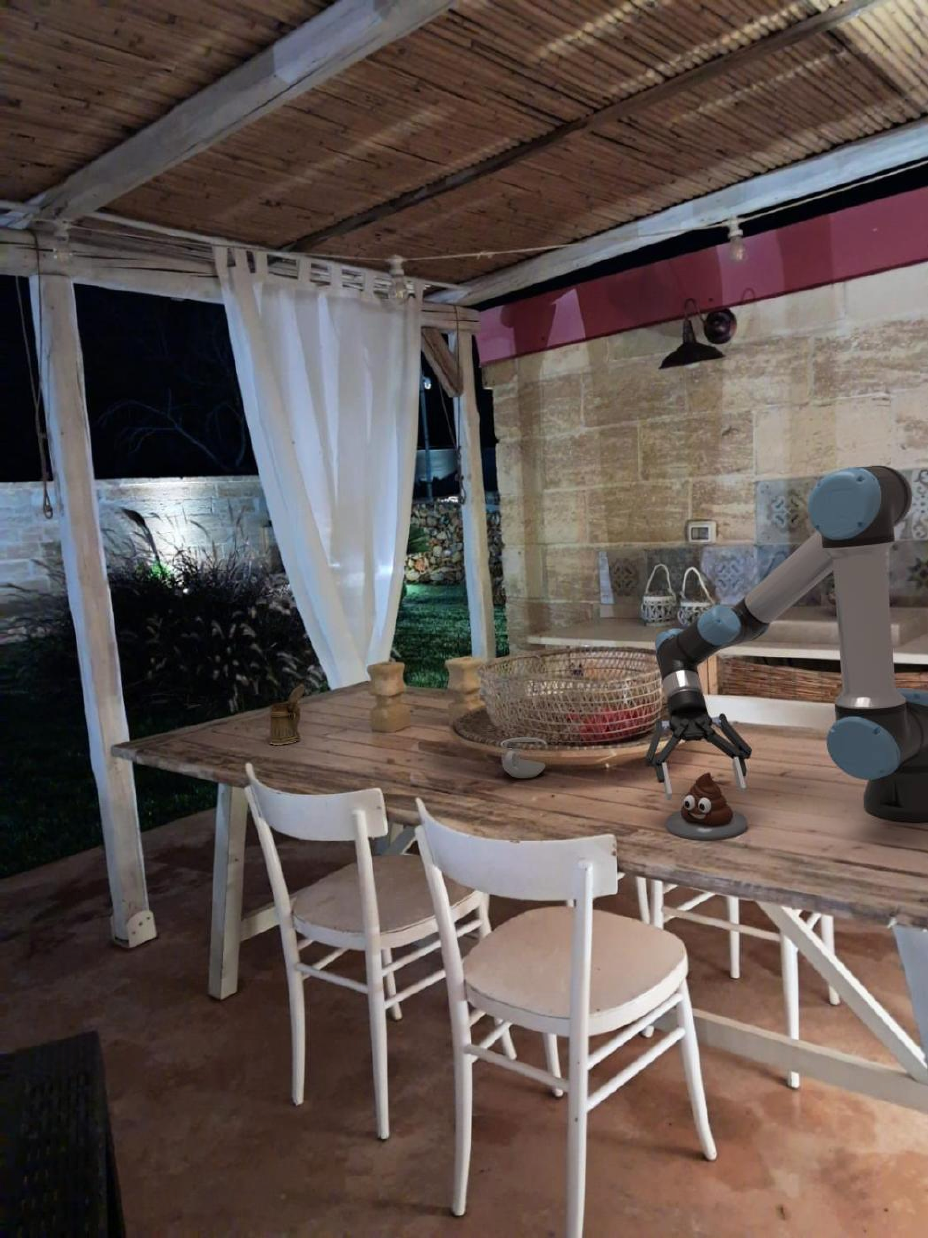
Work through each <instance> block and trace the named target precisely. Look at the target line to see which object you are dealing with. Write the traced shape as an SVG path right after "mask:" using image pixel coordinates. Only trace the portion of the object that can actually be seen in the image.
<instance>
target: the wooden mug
mask: <svg viewBox="0 0 928 1238" xmlns="http://www.w3.org/2000/svg"><path fill="white" fill-rule="evenodd" d="M305 689H306V686H305V685H304V683H303V682H300V683H299V684H298V685H297V686H296V687H295V688H294V689H292V691H291V692H290V693H289V696H288V701H289V702H282V703H281V702H280V703H275V704H272V705H270V711H269V716H270V721H269V722H270V723H269V724H270V725H269V727H270V728H269V729H270V730H269V735H270V736H269V741H268V742H272V743H286V742H294V741H298V740H299V739H300V738H301V734H300V732H299V730H298V725H299V722H300V720H301V719H300V718H301V708H300V705H299V704H298V701H299V700H300V699H301V697H302V696H303V694H304V693H305ZM300 740H301V739H300ZM298 742H299V741H298Z"/></svg>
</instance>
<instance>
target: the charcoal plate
mask: <svg viewBox="0 0 928 1238" xmlns="http://www.w3.org/2000/svg"><path fill="white" fill-rule="evenodd" d="M732 811H733V818H732V820H731V821H730V822H729V823H727V824H724V825H719V826H709V825H704V824H702V823H699V822H688V821H686V820H684V819H683V817H682V816H681V810H678V811H675V812H673V813H671V814H669V815H668V816H667V817H666V818H665V829H666V830H667V832H669V833H670V834H671V833H672V834H671V835H673V834H674V835H673V836H675V835H677V836H676V837H678V836H679V838H681V839H687V840H692V841H704V840H706V841H707V840H708V841H709V840H710V841H722V840H727V838H728V839H732V838H734V837H737V835H738V836H740V835H742V834H744V833H745V832H746V830H747V829H748V820H747V818H746V817H745V816H744V815H743V814H742V813H739V812H737V811H734V810H732ZM731 837H732V838H731ZM721 839H722V840H721ZM708 841H707V842H708Z"/></svg>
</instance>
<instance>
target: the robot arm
mask: <svg viewBox="0 0 928 1238" xmlns="http://www.w3.org/2000/svg"><path fill="white" fill-rule="evenodd" d="M912 502H913V491H912V487H911V485H910V482H909V480H907V478H906V476H904V474H902V473H901V472H900V471H898V470H897V469H895V468H893V467H890V466H886V465H869V466H854V467H849V466H848V467H846V468H842V469H841V468H840V469H839V470H835V471H832V472H830V473H828V474H827V475H825V476H823V477H822V478H821V479H820V480H819V481H818V482H817V483H816V485H814V487H813V488H812V491H810V495H809V499H808V504H807V514H808V518H809V521H810V523H811V525H812V526H813V528H814V529H815V530H816V532H815V533H813V535H811V536H810V537H809V538H808V539H807V540H806V541H805V542H803V544H802V545H800V546H799V547H798V548H797V549H796V550H795V551H794V552H792V553H791V555H789V556H788V557H787V558H786V559H785V560H784V561H783V562H782V563H781V564H779V565H778V566H777V567H776V568H775V569H773V571H771V573H769V574H768V575H767V576H766V577H765V578H764V579H763V580H762V581H761V582H759V583H758V584H757V585H755V587H754V588H752V590H751V591H749V592H748V593H747V594H745V596H744V597H743V598H742V599H741V600H740V601H739V602H738V603H736V604H735V605H734V606H733V607H728V606H724V605H722V604H717V605H713V606H712V607H711V608H709V609H708V610H705V611H704V612H702V613H701V615H700V616H699V617H698V618H696V619H695V620H694V621H692V623H690V624H689V625H688V626H687V627H686V628H684V629H682V628H669V629H668V630H667V631H662V632H661V633H659V634H658V635H657V637H656V638H655V641H654V648H655V658H656V661H657V664H658V668H659V669H658V670H659V672H660V673H659V674H660V677H661V678H660V679H661V684H662V688H663V693H664V697H665V701H666V708H667V712H668V713H667V714H668V718H669V720H668V721H667V720H662V719H661V718H659V717H658V718H656V719H655V724H654V733H653V736H652V739H651V741H650V743H649V746H648V749H647V752H646V754H645V758H644V759H645V760H644V766H645V767H647V768H649V767H652V768H653V770H654V771H655V773H656V774H655V775H656V779H657V782H658V783H659V784H662V783H663V787H664V793H665V797H666V801H672V796H673V791H672V786H671V781H670V776H669V775H670V774H669V771H668V767H667V762H666V761H667V759H668V758H669V756H670V755H671V754H672V753H673V751H674V749H675V748H676V747H677V746H678V745H679V744H680V742H681V741H684V742H685V743H686V742H687V743H688V742H692V741H696V742H701V741H702V740H704V741H706V742H707V743H711V744H712V745H713V746H714V747H716V748H717V749H719V750H720V751H721V752H723V754H725V755H726V756H728V757H729V758H730V759H732V763H731V765H732V769H733V773H734V777H735V780H736V786H737V789H738V793H739V796H740V795H745V792H746V788H747V787H746V783H745V779H744V777H746V775H747V772H748V769H747V766H746V761H745V760H749V759H750V758H751V756H752V753H753V749H752V748H751V746H750V745H749V744H748V743H747V742H746V741H745V740H744V739H743V737H742V736H741V735H740V734H739V733H738V732H737V730H736V729H735V728H734V727H733V726H732V725H731V724H730V723H729V721H728V718H727V716H726V714H725V713H720V714H719V716H714V717H712V716H711V715H709V712H708V707H707V703H706V699H705V695H704V692H703V688H702V686H703V685H702V684H701V682H702V681H701V679H700V675H699V674H700V673H699V670H698V666H699V665H701V664H702V663H704V662H705V661H707V660H708V659H709V658H710V657H712V656H713V655H714V654H716V653H717V652H719V651H722V650H723V649H727V648H730V647H733V646H736V645H739V644H743V643H746V642H751V641H754V640H757V639H758V638H760V637H762V636H764V635H765V634H766V633H767V632H768V630H769V628H770V626H771V625H770V624H772V623H773V622H774V621H775V620H777V618H779V617H780V616H781V615H782V614H784V612H786V611H787V610H788V609H789V608H790V607H792V606H793V605H794V604H795V603H797V601H799V600H800V599H801V598H802V597H803V596H804V595H806V594H807V593H808V592H809V591H810V590H812V589H813V588H814V587H815V586H816V585H817V584H819V583H820V582H821V581H822V580H823V579H824V578H826V577H827V576H829V574H831V573H832V572H833V580H834V581H833V582H834V594H835V607H836V619H837V620H836V621H837V623H836V624H837V635H838V648H839V661H840V673H841V676H840V677H841V685H842V686H841V687H842V691H841V693H840V694H839V695H838V696H837V697H836V698H835V699H834V715H835V722H834V723H833V724H832V725H831V727H830V728H829V730H828V732H827V735H826V748H827V752H828V754H829V757H830V758H831V760H832V761H833V763H834V764H835V766H837V767H838V768H839V769H840V770H842V772H844V773H845V774H846V775H849V776H851V777H853V778H855V779H858V780H864V781H867V784H866V787H865V789H864V792H863V808H864V810H865V811H866V812H868V813H869V814H871V815H872V816H875V817H878V818H882V819H885V820H890V821H897V822H909V823H921V822H923V823H924V822H925V823H926V822H928V690H926V689H925V690H924V689H917V688H907V687H906V688H905V687H904V688H903V687H896V682H895V681H896V679H895V678H896V677H895V665H894V662H895V661H894V649H893V648H894V647H893V636H892V624H891V623H892V622H891V621H892V620H891V610H890V609H891V607H890V593H889V592H890V591H889V581H888V580H889V579H888V567H887V552H889V550H890V549H891V547H892V546H894V545H895V541H896V539H895V538H896V537H895V527H896V526H898V525H899V524H900V523H901V522H902V521H903V520H904V519H905V518H906V516H907V515H908V513H909V511H910V509H911V506H912ZM713 725H714V726H715V727H716V728H717V729H720V731H721V732H722V734H723V735H724V736H725V737H726V738H724V737H723V736H722V735H720V734H719V733H718V732H717V731H716V730H715V729H714V728H713V727H712V726H713ZM667 729H669V730H670V731H671V732H673V733H672V736H671V737H670V739H669V740H668V741H667V743H666V744H665V746H663V748H662V749H661V750H660V752H659V754H658V755H657V756H656V757H655V755H656V751H657V749H658V748H659V747H658V746H659V744H660V741H661V738H662V735H663V734H664V733H665V732H666V731H667Z"/></svg>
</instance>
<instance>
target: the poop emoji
mask: <svg viewBox="0 0 928 1238" xmlns="http://www.w3.org/2000/svg"><path fill="white" fill-rule="evenodd" d="M727 802H728V801H727V799H726V796H724V795H723V793H722V790H721V787H720V786H719V785H717V783H715V781H714V780H713V778H712V776H711V772H705V773H703V774H702V775H700V776H699V777H698V778H697V779H696V780H695V783H694V784H693V785H692V786H691V788H690V789H689V791H688V792H687V793H686V794H685V796H684V798H683V805H682V806H681V809H680V811H681V816H682V817H683V819H684V820H686V821H688V822H699V823H702V824H704V825H709V826H719V825H724V824H727V823H729V822H730V821H731V820H732V818H733V811H734V810H732V807H731V806H730V805H729V804H728V803H727Z"/></svg>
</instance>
